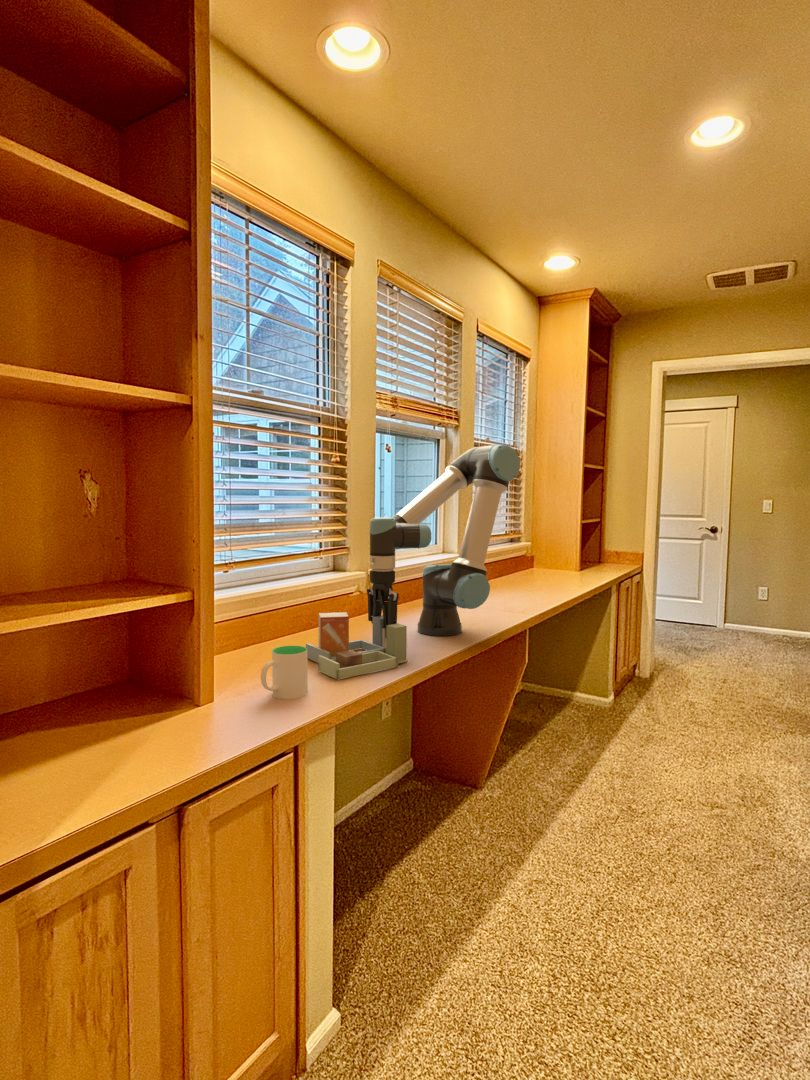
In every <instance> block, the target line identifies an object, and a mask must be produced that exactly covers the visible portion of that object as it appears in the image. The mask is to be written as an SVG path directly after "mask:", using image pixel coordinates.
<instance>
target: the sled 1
mask: <svg viewBox="0 0 810 1080" xmlns="http://www.w3.org/2000/svg"><path fill="white" fill-rule="evenodd" d="M382 626H384V620H383V614H381V616H375V617H373V624H372V642H371V641H370V642H369V641H367V640H364V639H357V640H352V641H349V651H350V650H353V651H356V650H360V649H362V650H363V651H357V652H358V653H360V654H362V653H368V652H373V651H380V652H383V653H386V648H384V647H382ZM305 647H306V648H307V660H311V661H313V662H315V663H317V664H318V656H319V655H322V656H324V657H326V658H328V659H335V658H336V657H330V652H328V651H326V650H323V649H321V648H319V646H316V645H313V644H312V643H309V642H307V643H305Z"/></svg>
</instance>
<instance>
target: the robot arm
mask: <svg viewBox="0 0 810 1080" xmlns="http://www.w3.org/2000/svg"><path fill="white" fill-rule="evenodd" d="M520 468H521V462H520V458H519V456H518V454H517V451H516V450H515V449H514V448H513V447H511V446H510V445H507V444H499V443H498V444H497V443H495V444H492V445H491V444H490V445H486V446H485V445H484V446H475V447H472V448H470V449H468V450H466V451H465V452H463V453H462V454H461V455H460V456H458V457H457V458H455V460H453V461H452V462H451V463H449V464H448V465H447V466H446V467H445V470H444V471H445V472H444V473H442V474H441V476H439V477H438V478H437V479H435V480H434V481H433V482H432V483H431V484H430V485H428V486H427V487H426V488H425V489H424V490H423V491H421V492H420V493H419V494H418V495H417V496H416V497H415V498H413V499H412V500H411V501H410V502H409V503H408V504H407V505H405V506H404V507H403V508H401V510H399V511H398V512H397V513H396V514H395V515H393V516H392V517H385V516H384V517H373V518H371V519H370V523H369V531H368V532H369V568H370V569H371V570H370V571H369V583H371V584H372V586H371V588H367V589H366V595H367V616H368V617H367V619H368V621H369V622H371V624H372V625H373V617H375V616H382V615H383V620H384V626H382V647H384V648H386V625H392V624H398V600H399V596H400V595H399V593H396V592H394V589H393V584H394V583H395V582H396V571H395V568H396V550H399V549H404V550H405V549H419V550H420V549H425V548H427V547H428V546H429V545H430V544H431V542H432V530H431V528H430V526H429V525H428V524H426V523H422V522H423V521H425V520H426V519H427V518H428V517H429V516H431V514H433V513H434V512H435V511H436V510H438V508H439V507H441V506H442V505H443V504H444V503H446V502H447V501H448V500H449V499H450V498H451V497H452V496H453V495H455V494H456V493H457V492H458V491H460V490H465V489H466V488H468V487H469V486H470V485H472V484H473V486H474V487H475V490H474V492H473V494H474V495H473V496H472V502H471V504H470V508H469V514H468V517H467V521H466V526H465V529H464V533H463V536H462V541H461V545H460V548H459V553H458V556H457V558H456V559H455V560H453V561H452V562H451V563H448V564H447V563H446V564H445V563H444V564H431V565H430V564H429V565H425V566H424V567H423V571H422V577H421V578H422V610H421V613H420V617H419V620H418V622H417V632H418V633H420V634H422V635H423V634H424V635H426V636H436V637H437V636H441V637H442V636H446V637H447V636H455V635H459V634H461V633H462V631H463V630H462V628H463V626H462V625H463V624H462V622H461V619H460V615H459V612H458V608H461V609H467V610H473V609H477V608H479V607H480V606H482V605H483V604H485V602H486V601H487V599H488V598H489V595H490V591H491V584H490V583H489V579H488V577H487V573H488V570H487V568H486V566H485V561H486V558H487V553H488V549H489V546H490V545H489V544H490V541H491V537H492V533H493V529H494V525H495V521H496V517H497V512H498V508H499V505H500V501H501V497H502V493H504V492H506V491H507V490H508V488H509V484H510V482H511V481H513V480H514V479H515V478H517V476H518V475H519V472H520Z"/></svg>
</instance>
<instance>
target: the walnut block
mask: <svg viewBox="0 0 810 1080" xmlns="http://www.w3.org/2000/svg"><path fill="white" fill-rule="evenodd" d="M358 652H359V651H356V650H349V651H345V652H339V653H336V662H337V663H340V668H345V667H350V666H355V665H360V664H363V663H362V654H360V653H358Z"/></svg>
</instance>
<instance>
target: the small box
mask: <svg viewBox="0 0 810 1080" xmlns="http://www.w3.org/2000/svg"><path fill="white" fill-rule="evenodd" d="M349 634H350V618H349V615H348V613H347V611H345V612H319V613H318V647H319V648H321V649H323V650H326V651H328V652H330V657H336V653H339V652H345V651H350V650H349V642H350V635H349Z"/></svg>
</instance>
